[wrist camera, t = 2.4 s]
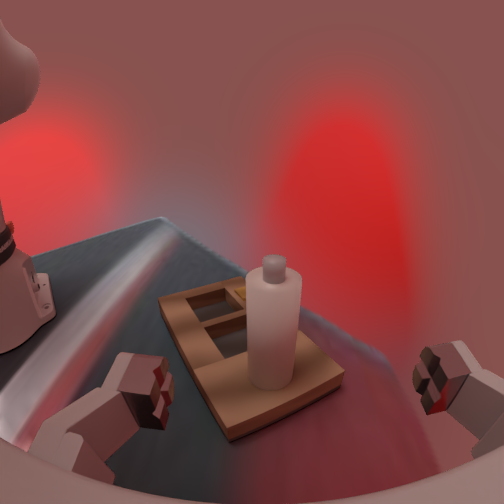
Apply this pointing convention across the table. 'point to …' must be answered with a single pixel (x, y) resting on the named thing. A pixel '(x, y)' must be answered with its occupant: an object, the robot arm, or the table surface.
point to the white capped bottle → (272, 322)
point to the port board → (239, 359)
